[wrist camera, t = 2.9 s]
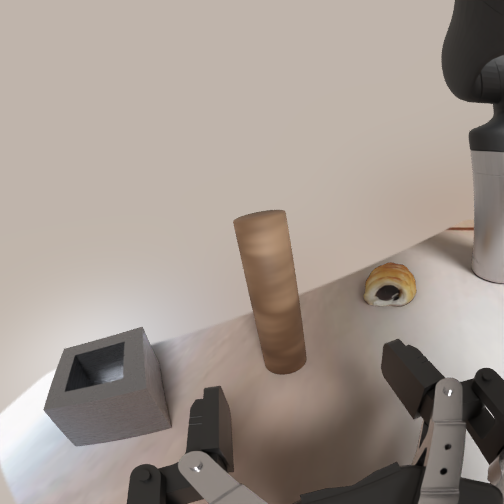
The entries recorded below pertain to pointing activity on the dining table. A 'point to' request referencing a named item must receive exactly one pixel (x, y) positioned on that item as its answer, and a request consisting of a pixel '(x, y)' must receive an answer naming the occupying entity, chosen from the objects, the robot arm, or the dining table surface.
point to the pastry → (390, 286)
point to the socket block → (108, 390)
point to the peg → (272, 288)
